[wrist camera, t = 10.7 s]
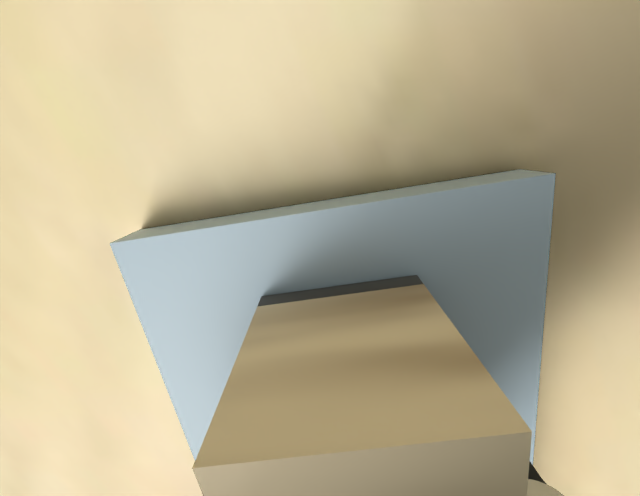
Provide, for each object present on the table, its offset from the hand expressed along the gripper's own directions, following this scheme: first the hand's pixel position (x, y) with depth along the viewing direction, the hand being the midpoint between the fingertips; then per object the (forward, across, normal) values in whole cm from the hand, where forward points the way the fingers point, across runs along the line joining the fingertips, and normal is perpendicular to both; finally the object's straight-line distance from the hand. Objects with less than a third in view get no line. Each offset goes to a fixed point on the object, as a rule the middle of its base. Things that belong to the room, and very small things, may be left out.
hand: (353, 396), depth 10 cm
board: (+2, 0, +6) cm, 6 cm away
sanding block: (0, 0, 0) cm, 0 cm away
